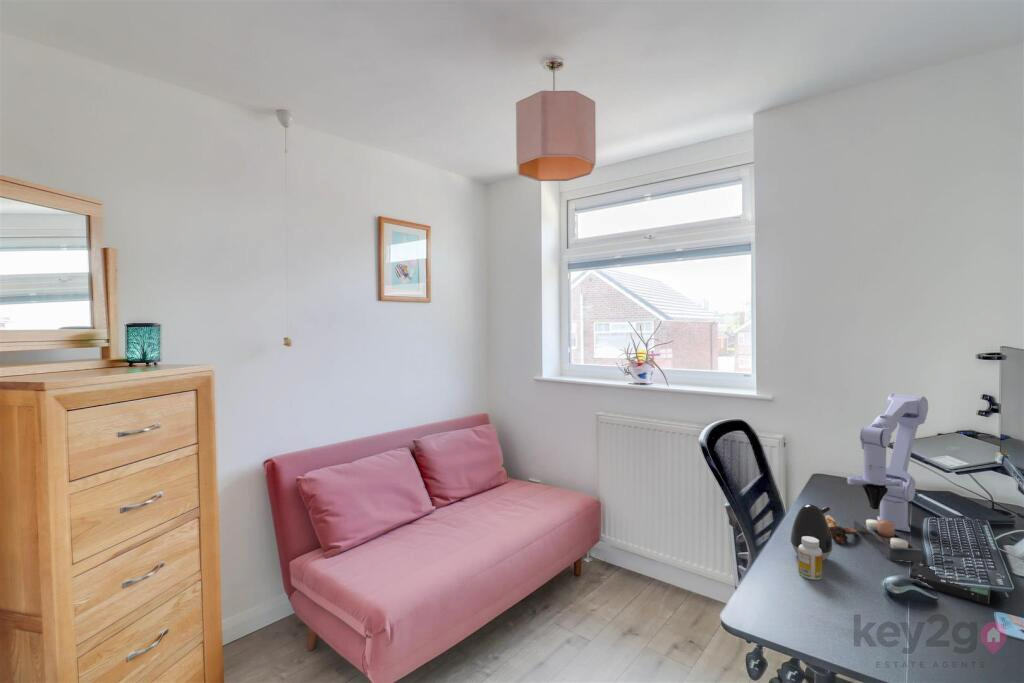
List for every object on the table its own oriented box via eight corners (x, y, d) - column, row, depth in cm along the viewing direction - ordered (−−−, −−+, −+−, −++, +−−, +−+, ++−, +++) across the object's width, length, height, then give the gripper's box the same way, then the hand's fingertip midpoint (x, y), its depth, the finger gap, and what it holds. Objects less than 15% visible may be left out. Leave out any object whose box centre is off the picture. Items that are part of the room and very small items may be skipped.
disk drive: (909, 585, 125) (990, 607, 114) (909, 574, 125) (990, 595, 114) (913, 570, 132) (990, 590, 122) (913, 560, 132) (990, 579, 122)
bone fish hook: (866, 550, 144) (850, 526, 161) (867, 535, 144) (850, 512, 161) (829, 544, 148) (817, 521, 164) (830, 529, 147) (818, 507, 164)
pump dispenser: (842, 565, 134) (842, 510, 134) (806, 566, 134) (806, 511, 133) (816, 548, 144) (816, 497, 144) (782, 549, 144) (783, 498, 143)
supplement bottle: (818, 572, 131) (819, 536, 130) (824, 581, 126) (825, 544, 125) (796, 568, 132) (796, 533, 132) (800, 578, 127) (801, 541, 127)
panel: (854, 530, 157) (854, 519, 157) (882, 532, 155) (882, 521, 155) (889, 560, 137) (890, 548, 137) (922, 563, 135) (922, 550, 135)
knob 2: (887, 550, 142) (887, 537, 141) (903, 552, 141) (903, 538, 141) (894, 557, 138) (895, 543, 138) (911, 558, 137) (911, 544, 137)
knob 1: (863, 531, 155) (863, 518, 155) (877, 532, 154) (877, 519, 154) (869, 536, 151) (870, 523, 151) (884, 537, 150) (884, 524, 150)
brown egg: (874, 532, 148) (875, 519, 148) (889, 533, 147) (890, 520, 147) (881, 537, 144) (882, 524, 144) (897, 538, 144) (897, 525, 143)
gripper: (854, 467, 150) (854, 511, 150) (908, 470, 147) (908, 514, 147) (844, 461, 157) (843, 503, 157) (895, 463, 154) (895, 506, 154)
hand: (874, 508), depth 153 cm, fingers closed
